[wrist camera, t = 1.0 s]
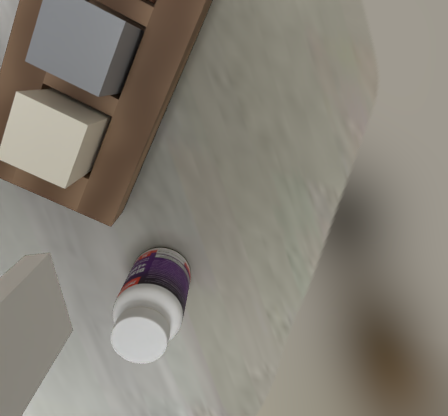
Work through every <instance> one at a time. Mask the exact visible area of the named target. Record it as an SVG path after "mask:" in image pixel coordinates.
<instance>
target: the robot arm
mask: <svg viewBox="0 0 448 416" xmlns="http://www.w3.org/2000/svg"><path fill="white" fill-rule="evenodd" d="M72 331H73V328H72V324H71V321H70V318H69V314H68V311H67V308H66V304H65V301H64V298H63V294H62V291H61V288H60V284H59V281H58V278H57V274H56V271H55V268H54V264H53V261H52V258H51V254H50V253H43V254H34V255H25V256H24V257H23V258H22V259H21V260H19V261H18V262H17V263H16V264H15V265H14V266H13V267H12V268H10V269H9V270H8V271H7V272H6V273H5V274H4V275H3V276H2V277H0V416H22V414H23V413H24V411H25V409H26V408H27V406H28V404H29V403H30V401H31V399H32V398H33V396H34V394H35V393H36V391H37V389H38V388H39V386H40V384H41V383H42V381H43V379H44V378H45V376H46V374H47V373H48V371H49V369H50V368H51V366H52V364H53V363H54V361H55V359H56V358H57V356H58V354H59V353H60V351H61V349H62V348H63V346H64V344H65V343H66V341H67V339H68V338H69V336H70V334H71V333H72Z"/></svg>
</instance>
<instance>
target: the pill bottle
mask: <svg viewBox="0 0 448 416" xmlns="http://www.w3.org/2000/svg"><path fill="white" fill-rule="evenodd" d="M190 277H191V273H190V268H189V265H188V263H187V261H186V260H185V259H184V257H183V256H181V255H180V254H179V253H177V252H176V251H173V250H171V249H167V248H154V249H150V250H148V251H146V252H144V253H143V254H141V255H140V256H139V258H138V259H137V260H136V262H135V263H134V265H133V267H132V269H131V271H130V273H129V275H128V277H127V279H126V281H125V283H124V285H123V287H122V289H121V291H120V293H119V295H118V297H117V299H116V301H115V304H114V307H113V314H112V315H113V322H114V327H113V330H112V332H111V344H112V346H113V348H114V350H115V351H116V353H117V354H118V355H119V356H121V357H122V358H123V359H125V360H127V361H130V362H133V363H139V364H144V363H150V362H153V361H155V360H157V359H158V358H160V357H161V356H162V355H163V354H164V352H165V351H166V348H167V345H168V342H169V341H170V340H171V339H173V338H174V337H175V335H176V334H177V333H178V331H179V329H180V327H181V324H182V320H183V316H184V310H185V305H186V300H187V295H188V289H189V285H190Z"/></svg>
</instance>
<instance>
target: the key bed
mask: <svg viewBox="0 0 448 416" xmlns="http://www.w3.org/2000/svg"><path fill="white" fill-rule="evenodd" d="M42 1H43V0H20V1H19V4H18V8H17V12H16V15H15V19H14V23H13V26H12V30H11V34H10V37H9V41H8V45H7V48H6V52H5V56H4V59H3V63H2V67H1V70H0V146H1V142H2V139H3V135H4V132H5V128H6V125H7V121H8V118H9V115H10V111H11V108H12V104H13V101H14V97H15V94H16V91H28V90H41V89H54V90H56V91H59V92H61V93H63V94H65V95H67V96H69V97H71V98H73V99H75V100H77V101H79V102H81V103H83V104H86V105H88V106H90V107H92V108H94V109H96V110H98V111H100V112H102V113H104V114H106V115H108V116H111V120H110V122H109V125H108V128H107V130H106V133H105V136H104V138H103V141H102V143H101V146H100V149H99V151H98V154H97V157H96V159H95V162H94V164H93V167H92V170H91V171H90V172H89V173H87V174H86V175H84V176H83V177H81V178H80V179H79V180H77V181H76V182H74V183H73V184H71V185H70V186H68V187H67V188H66V189H64V188H62V187H60V186H57V185H55V184H53V183H51V182H48V181H46V180H44V179H42V178H39V177H37V176H35V175H33V174H30V173H28V172H26V171H24V170H21V169H19V168H17V167H15V166H12V165H10V164H8V163H6V162H3V161H1V160H0V178H1V179H3V180H6V181H8V182H10V183H12V184H15V185H17V186H19V187H21V188H24V189H26V190H28V191H31V192H33V193H35V194H37V195H40V196H42V197H44V198H47V199H49V200H51V201H53V202H56V203H58V204H60V205H63V206H65V207H67V208H69V209H72V210H74V211H76V212H78V213H81V214H83V215H85V216H88V217H90V218H92V219H94V220H97V221H99V222H101V223H104V224H106V225H108V226H110V227H111V226H112V225H113V224H114V222H115V221H116V220H117V218H118V217H119V216H120V215H121V213H122V212H123V210H124V207H125V205H126V203H127V200H128V198H129V196H130V193H131V191H132V189H133V186H134V184H135V182H136V179H137V177H138V175H139V172H140V170H141V167H142V165H143V163H144V160H145V158H146V156H147V153H148V151H149V149H150V146H151V144H152V142H153V139H154V137H155V135H156V132H157V130H158V128H159V125H160V123H161V120H162V118H163V116H164V113H165V111H166V109H167V106H168V104H169V102H170V99H171V97H172V95H173V92H174V90H175V88H176V85H177V83H178V80H179V78H180V76H181V73H182V71H183V69H184V66H185V64H186V62H187V59H188V57H189V55H190V52H191V50H192V48H193V45H194V43H195V41H196V38H197V36H198V33H199V31H200V29H201V26H202V24H203V22H204V19H205V17H206V15H207V12H208V10H209V8H210V5H211V3H212V1H213V0H156V1H155V4H154V3H153V2H151V1H149V0H85V1H87V2H89V3H91V4H93V5H95V6H97V7H99V8H101V9H102V10H104V11H106V12H108V13H110V14H112V15H114V16H116V17H118V18H120V19H122V20H124V21H126V22H127V23H129V24H131V25H133V26H135V27H137V28H139V29H141V30H143V31H144V33H143V36H142V38H141V41H140V44H139V46H138V49H137V51H136V54H135V57H134V59H133V62H132V65H131V67H130V70H129V72H128V75H127V78H126V80H125V83H124V86H123V88H122V91H121V93H119V94H113V95H107V96H101V97H98V96H96V95H93V94H91V93H89V92H87V91H85V90H83V89H81V88H79V87H77V86H75V85H73V84H71V83H69V82H67V81H65V80H63V79H61V78H58V77H56V76H54V75H52V74H50V73H48V72H46V71H44V70H42V69H40V68H38V67H36V66H34V65H32V64H30V63H28V62H26V61H25V59H26V56H27V53H28V49H29V46H30V42H31V39H32V35H33V32H34V29H35V25H36V22H37V18H38V15H39V11H40V8H41V4H42Z"/></svg>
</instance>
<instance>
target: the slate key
mask: <svg viewBox="0 0 448 416" xmlns="http://www.w3.org/2000/svg"><path fill="white" fill-rule="evenodd" d="M143 33H144V31H143V30H141V29H139V28H137V27H135V26H133V25H131V24H129V23H127V22H126V21H124V20H122V19H120V18H118V17H116V16H114V15H112V14H110V13H108V12H106V11H104V10H102V9H101V8H99V7H97V6H95V5H93V4H91V3H89V2H87V1H85V0H43V1H42V4H41V8H40V11H39V15H38V18H37V22H36V25H35V29H34V32H33V35H32V39H31V42H30V46H29V49H28V53H27V56H26V59H25V61H26V62H28V63H30V64H32V65H34V66H36V67H38V68H40V69H42V70H44V71H46V72H48V73H50V74H52V75H54V76H56V77H58V78H61V79H63V80H65V81H67V82H69V83H71V84H73V85H75V86H77V87H79V88H81V89H83V90H85V91H87V92H89V93H91V94H93V95H96V96H98V97H101V96H107V95H113V94H119V93H121V91H122V88H123V86H124V83H125V80H126V78H127V75H128V72H129V70H130V67H131V65H132V62H133V59H134V57H135V54H136V51H137V49H138V46H139V44H140V41H141V38H142V36H143Z"/></svg>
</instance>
